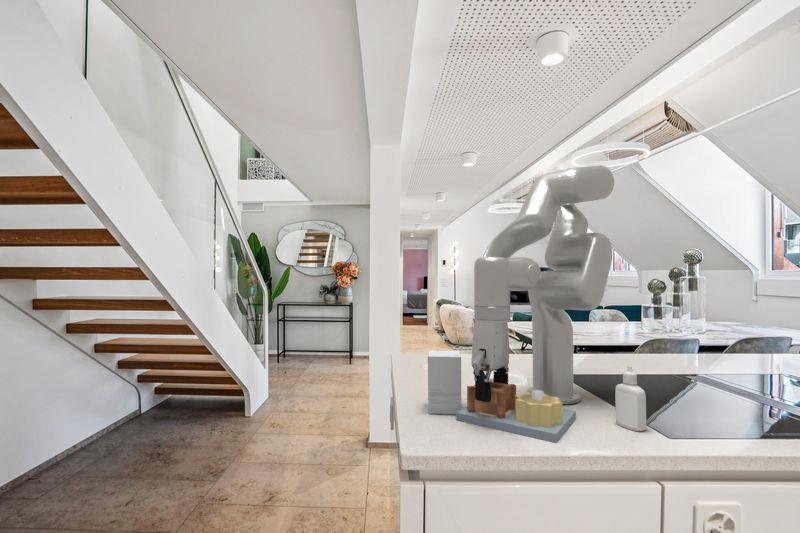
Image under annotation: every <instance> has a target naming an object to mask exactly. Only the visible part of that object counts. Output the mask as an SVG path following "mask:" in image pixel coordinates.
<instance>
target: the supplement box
mask: <svg viewBox="0 0 800 533" xmlns="http://www.w3.org/2000/svg"><path fill="white" fill-rule="evenodd" d="M427 402H428V409H427V410H428V414H430V415H433V414H435V415H456V412H458V411H460V410H462V356H461V353H460V351H459V350H456V351H455V350H428V355H427Z"/></svg>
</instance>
